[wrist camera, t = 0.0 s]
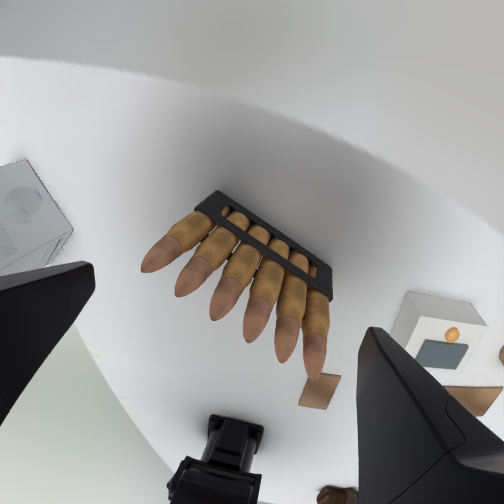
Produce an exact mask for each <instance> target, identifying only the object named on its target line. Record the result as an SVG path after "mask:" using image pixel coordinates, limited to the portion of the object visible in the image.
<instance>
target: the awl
mask: <svg viewBox="0 0 504 504" xmlns="http://www.w3.org/2000/svg"><path fill="white" fill-rule="evenodd" d="M499 358H500V360H501V362H502V363H503V365H504V346H503V347H502V349H501V351H500V354H499Z"/></svg>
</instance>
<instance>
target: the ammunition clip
mask: <svg viewBox="0 0 504 504" xmlns="http://www.w3.org/2000/svg"><path fill="white" fill-rule="evenodd" d="M217 225H218V227H217V228H216V229H215V230H214V231H213V232H212V233H211V234H210V235H209V232H210V231H212V230H213V229H214V228H215V227H216V226H217ZM239 240H241V242H240V244H239V245H238V247H237V248H236V250H235V251H234V253H232V250H233V249H234V247H235V246H236V245H237V243H238V242H239ZM199 242H201V244H200V245H199V246H198V247H197V249H196V251H195V254H194V255H193V257H192V258H191V259H190V260H189V262H188V263H187V265H186V266H185V267H184V268H183V270H182V271H181V273H180V275H179V277H178V279H177V282H176V285H175V296H176V297H183V296H186V295H188V294H190V293H192V292H193V291H195V290H196V289H197V288H198V287H199V286H200V285H201V284H202V283H203V282H204V281H205V280H206V279H207V278H208V277H209V276H210V275H211V274H212V272H213V271H215V270H216V269H218V268H219V267H220V266H221V265H222V264H223V263H224V261H225V260H228V262H227V263H226V265H225V267H224V269H223V272H222V277H221V279H220V281H219V283H218V285H217V287H216V289H215V291H214V294H213V296H212V299H211V303H210V318H211V320H212V321H217V320H219V319H221V318H222V317H224V316H225V315H226V314H227V313H228V312H229V311H230V310H231V309H232V308H233V306H234V305H235V304H236V302H237V300H238V298H239V296H240V295H241V294H242V292H243V290H244V288H245V287H247V286H248V285H249V284H250V282H251V280H252V278H254V279H253V282H252V284H251V287H250V297H249V300H248V303H247V308H246V311H245V315H244V320H243V335H244V338H245V341H246V342H247V343H251V342H253V341H254V340H255V339H257V338H258V336H259V335H260V334H261V333H262V331H263V329H264V328H265V326H266V324H267V322H268V319H269V316H270V313H271V311H272V309H273V306H274V304H275V302H276V301H277V305H276V315H277V320H276V329H275V339H274V344H275V352H276V355H277V358H278V360H279V362H280V363H284V362H286V361H287V360H288V359H289V357H290V356H291V354H292V352H293V351H294V348H295V346H296V343H297V340H298V335H299V329H300V325H301V328H302V332H303V358H304V364H305V368H306V371H307V374H308V376H309V378H310V379H311V380H312V381H315V380H316V379H317V378H318V376H319V375H320V373H321V371H322V368H323V365H324V361H325V356H326V344H327V334H328V330H329V326H330V319H329V302H331V301H332V300H333V287H332V268H331V267H330V266H328V265H327V264H326V263H324V262H323V261H321V260H320V259H318V258H317V257H316V256H314V255H313V254H311V253H310V252H308V251H307V250H306V249H304V248H303V247H301V246H300V245H298V244H297V243H296V242H294V241H293V240H291V239H290V238H288V237H287V236H285V235H284V234H282V233H281V232H280V231H278V230H277V229H275V228H274V227H272V226H271V225H269V224H268V223H266V222H265V221H263V220H262V219H260V218H259V217H257V216H256V215H254V214H253V213H251V212H250V211H249V210H247V209H246V208H244V207H243V206H241V205H240V204H238V203H237V202H235V201H234V200H232V199H231V198H229V197H227V196H226V195H224V194H223V193H221V192H220V191H218V190H217V191H215V192H214V193H213V194H211V195H210V196H209V197H207V198H206V199H205V200H204V201H202V202H201V203H200V204H199V205H197V206H196V207H195V209H194V212H192V213H191V214H189V215H188V216H186V217H185V218H183V219H182V220H180V221H179V222H178V223H176V224H175V225H173V226H172V228H171V229H170V230H169V232H168V233H167V234H166V235H165V236H164V237H163V238H162V239H161V240H160V241H158V242H157V243H156V244H155V245H154V246H153V247H152V248H151V249H150V250H149V252H148V253H147V255H146V256H145V258H144V260H143V262H142V264H141V272H142V273H151V272H154V271H157V270H159V269H161V268H163V267H165V266H167V265H168V264H170V263H171V262H172V261H174V260H175V259H176V258H177V257H179V256H180V255H182V254H183V253H185V252H187V251H189V250H191V249H192V248H193V247H195V246H196V245H197V244H198V243H199ZM262 255H263V257H262ZM261 257H262V260H261ZM260 260H261V262H260ZM259 262H260V265H259V267H258V270H257V266H258V264H259ZM277 299H278V300H277ZM301 320H302V321H301Z"/></svg>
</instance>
